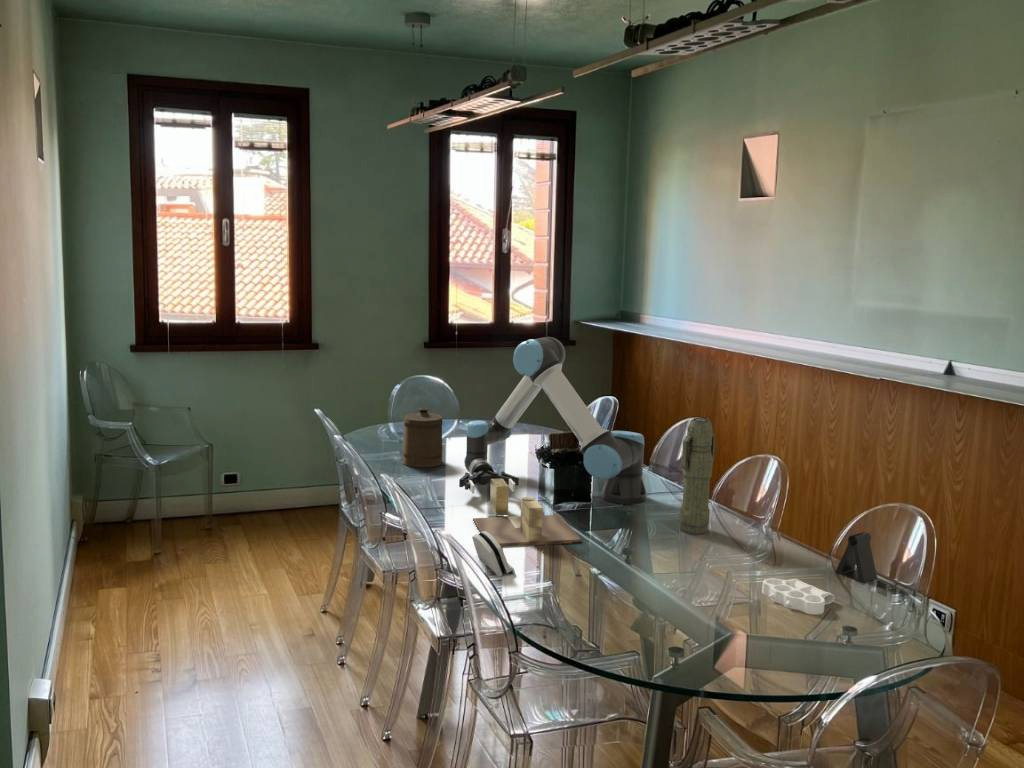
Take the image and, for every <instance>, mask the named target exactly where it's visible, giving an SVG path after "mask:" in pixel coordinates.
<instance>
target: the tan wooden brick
mask: <svg viewBox="0 0 1024 768" xmlns="http://www.w3.org/2000/svg"><path fill="white" fill-rule="evenodd" d="M509 489H510V488H509V485H507V483H506V482H505V481H504V479H491V483H490V493H489V494H490V495H489V499H490V500H489V509H490V508H491V509H490V511H491V510H492V511H493V512H494V514H495V515H496V516H497V515H508V516H509V498H510V497H509V496H510V495H509V492H510V490H509ZM492 511H491V512H492ZM493 512H492V513H493ZM494 514H493V515H494ZM495 515H494V516H495Z"/></svg>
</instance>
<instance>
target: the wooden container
mask: <svg viewBox="0 0 1024 768" xmlns="http://www.w3.org/2000/svg"><path fill="white" fill-rule="evenodd" d="M418 410H419V412H415V413H414V412H413V413H408V414H405V415H404V417H403V437H402V438H403V443H402V446H403V447H402V453H403V455H402V461H403V464H404V465H405V466H408V467H412V468H422V469H423V468H433V467H438V466H441V465H442V463H443V416H442V415H440V414H438V413H432V412H428V411H429V408H428V407H427V406H425V405H423V406H420V407H419V409H418Z"/></svg>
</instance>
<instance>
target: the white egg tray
mask: <svg viewBox="0 0 1024 768" xmlns="http://www.w3.org/2000/svg"><path fill="white" fill-rule="evenodd" d="M761 587H762V589H761V593H762V594H763V595H765V596H767V597H768V598H770V600H771V601H772V602H773V603H776V604H779V605H782V606H783V607H785V608H788V609H791V610H795V611H801V612H803V613H805V614H808V615H822V614H823V613H824V612H825V605H826V606H827V605H829V604H832V603H833V602H834V601H835V597H836V596H835V595H834V594H833V593H831V592H829V591H828V592H827V591H825V590H823V589H820V588H817V587H816V586H814V585H811V584H808V583H806V582H803V581H802V580H800V579H798V578H790V579H782V578H781V579H780V578H777V577H776V578H775V577H774V578H773V577H769V578H765V579H763V581H762V586H761Z"/></svg>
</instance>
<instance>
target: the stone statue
mask: <svg viewBox="0 0 1024 768" xmlns="http://www.w3.org/2000/svg"><path fill="white" fill-rule="evenodd" d="M686 432H687V433H686V435H685V436H684V438H683V440H682V452H681V453H682V454H681V467H682V476H683V489H682V502H681V503H682V504H681V506H680V509H679V531H680V532H681V533H684V534H688V535H693V536H699V535H706V534H707V533H708V532H709V525H710V511H711V510H710V507H709V503H710V502H709V500H710V498H709V496H710V488H711V487H710V483H711V478H712V476H713V466H714V462H715V447H716V446H715V445H716V435H715V433H713V432H714V428H713V425H712V421H711V420H709V419H708V418H704V417H695V418H692V419H690V421H689V423H688V425H687V431H686Z"/></svg>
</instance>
